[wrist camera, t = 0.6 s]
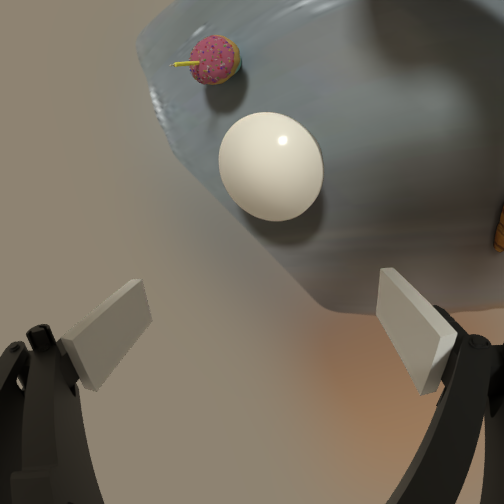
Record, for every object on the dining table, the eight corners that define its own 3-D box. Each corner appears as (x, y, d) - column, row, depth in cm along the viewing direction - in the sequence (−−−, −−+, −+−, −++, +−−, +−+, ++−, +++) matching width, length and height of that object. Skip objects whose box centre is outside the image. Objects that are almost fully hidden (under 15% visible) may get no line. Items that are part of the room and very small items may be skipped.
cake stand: (238, 119, 41) (209, 124, 35) (327, 105, 33) (312, 104, 27) (255, 203, 47) (230, 220, 41) (340, 203, 40) (327, 222, 34)
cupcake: (223, 94, 40) (173, 97, 31) (200, 60, 38) (149, 57, 29) (261, 65, 34) (215, 56, 25) (235, 30, 32) (186, 16, 23)
